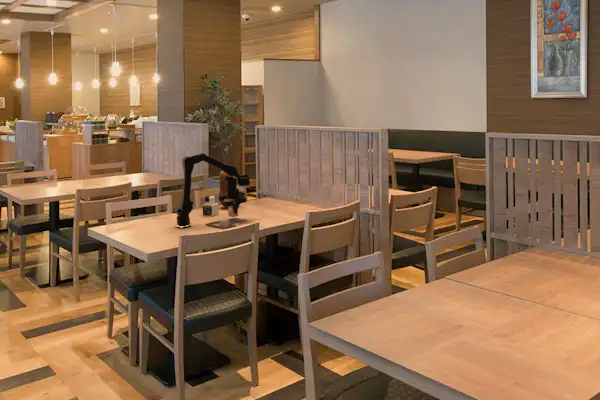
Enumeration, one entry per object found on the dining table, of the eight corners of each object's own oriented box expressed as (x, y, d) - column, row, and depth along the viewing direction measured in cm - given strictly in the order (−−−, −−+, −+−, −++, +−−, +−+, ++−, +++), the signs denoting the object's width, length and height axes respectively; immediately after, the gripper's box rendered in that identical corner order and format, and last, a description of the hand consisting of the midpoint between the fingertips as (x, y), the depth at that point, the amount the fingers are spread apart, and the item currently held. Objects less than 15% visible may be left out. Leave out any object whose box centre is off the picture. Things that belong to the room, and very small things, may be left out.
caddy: (223, 229, 330) (223, 227, 330) (205, 225, 341) (205, 223, 341) (235, 226, 336) (235, 224, 336) (217, 222, 347) (217, 221, 347)
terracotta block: (238, 215, 350) (237, 205, 349) (232, 217, 347) (232, 206, 346) (234, 215, 353) (233, 205, 352) (228, 216, 350) (228, 206, 349)
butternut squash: (244, 207, 392) (242, 169, 388) (228, 210, 383) (226, 172, 378) (230, 205, 402) (228, 168, 397) (214, 208, 392) (212, 170, 387)
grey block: (224, 228, 333) (224, 221, 333) (219, 227, 336) (218, 220, 335) (229, 226, 337) (229, 219, 336) (224, 225, 339) (223, 219, 338)
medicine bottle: (202, 215, 369) (201, 196, 367) (209, 213, 375) (208, 194, 373) (212, 216, 366) (210, 197, 364) (218, 214, 372) (217, 195, 370)
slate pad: (232, 223, 343) (232, 222, 343) (221, 221, 350) (221, 220, 350) (245, 220, 350) (245, 219, 350) (235, 218, 357) (234, 217, 357)
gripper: (252, 186, 346) (254, 213, 349) (232, 184, 359) (233, 209, 362) (238, 189, 338) (239, 216, 341) (217, 186, 351) (219, 212, 354)
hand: (233, 213), depth 350 cm, fingers closed on terracotta block, 4 cm apart
